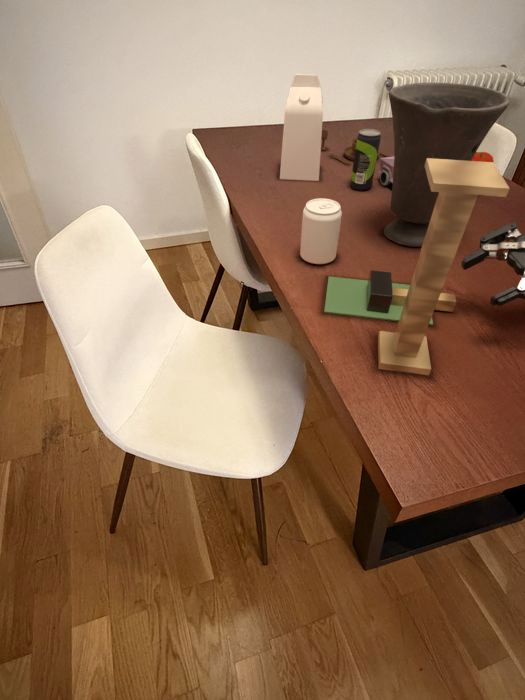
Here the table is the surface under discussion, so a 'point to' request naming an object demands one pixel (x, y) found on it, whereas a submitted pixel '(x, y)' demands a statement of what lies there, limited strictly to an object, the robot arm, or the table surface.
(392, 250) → the table surface
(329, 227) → the beverage can
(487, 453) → the table surface
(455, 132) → the vase
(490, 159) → the apple
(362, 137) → the beverage can
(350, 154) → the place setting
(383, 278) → the mallet
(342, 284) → the felt mat
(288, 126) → the milk
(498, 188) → the stand
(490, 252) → the robot arm
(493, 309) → the table surface
